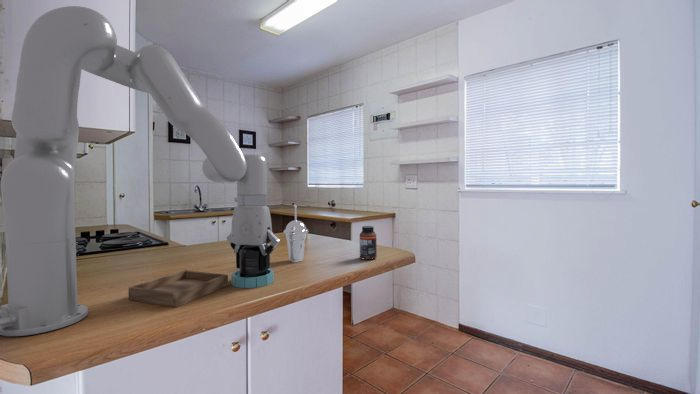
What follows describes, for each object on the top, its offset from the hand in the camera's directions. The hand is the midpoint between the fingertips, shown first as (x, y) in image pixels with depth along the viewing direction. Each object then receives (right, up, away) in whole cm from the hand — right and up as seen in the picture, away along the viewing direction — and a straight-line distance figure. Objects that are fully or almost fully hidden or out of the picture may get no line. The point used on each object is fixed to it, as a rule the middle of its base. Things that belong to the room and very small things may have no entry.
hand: (252, 267), depth 88 cm
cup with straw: (+8, -3, +24) cm, 25 cm away
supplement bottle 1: (0, -4, 0) cm, 4 cm away
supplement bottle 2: (+32, -3, +28) cm, 43 cm away
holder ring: (0, -4, 0) cm, 4 cm away
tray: (-15, -4, -8) cm, 17 cm away
